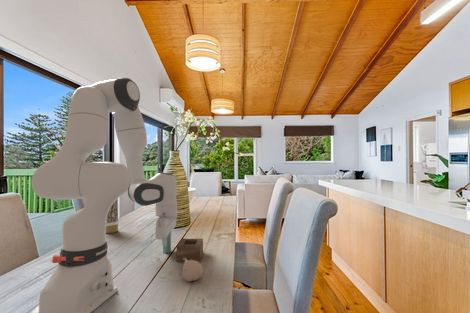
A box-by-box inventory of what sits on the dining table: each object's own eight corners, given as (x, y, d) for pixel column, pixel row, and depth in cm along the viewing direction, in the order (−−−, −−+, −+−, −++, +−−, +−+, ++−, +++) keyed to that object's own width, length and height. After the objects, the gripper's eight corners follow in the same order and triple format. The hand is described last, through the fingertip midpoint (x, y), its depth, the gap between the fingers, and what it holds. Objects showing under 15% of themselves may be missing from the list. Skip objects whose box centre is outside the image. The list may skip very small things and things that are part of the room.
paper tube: (112, 234, 135) (112, 186, 135) (101, 233, 136) (100, 186, 136) (120, 230, 142) (120, 185, 142) (109, 229, 143) (109, 184, 143)
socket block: (200, 261, 99) (200, 246, 99) (176, 261, 99) (176, 246, 98) (203, 252, 108) (202, 238, 108) (181, 253, 108) (181, 238, 108)
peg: (169, 253, 107) (169, 229, 107) (162, 253, 107) (161, 229, 107) (171, 250, 111) (171, 227, 111) (164, 250, 111) (164, 227, 111)
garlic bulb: (185, 275, 87) (185, 251, 87) (204, 275, 87) (203, 251, 87) (180, 285, 81) (180, 259, 81) (200, 285, 81) (200, 259, 81)
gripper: (167, 216, 99) (167, 252, 99) (179, 206, 119) (179, 235, 119) (151, 216, 99) (151, 252, 99) (165, 206, 119) (165, 236, 119)
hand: (166, 243), depth 109 cm, fingers open, 4 cm apart
